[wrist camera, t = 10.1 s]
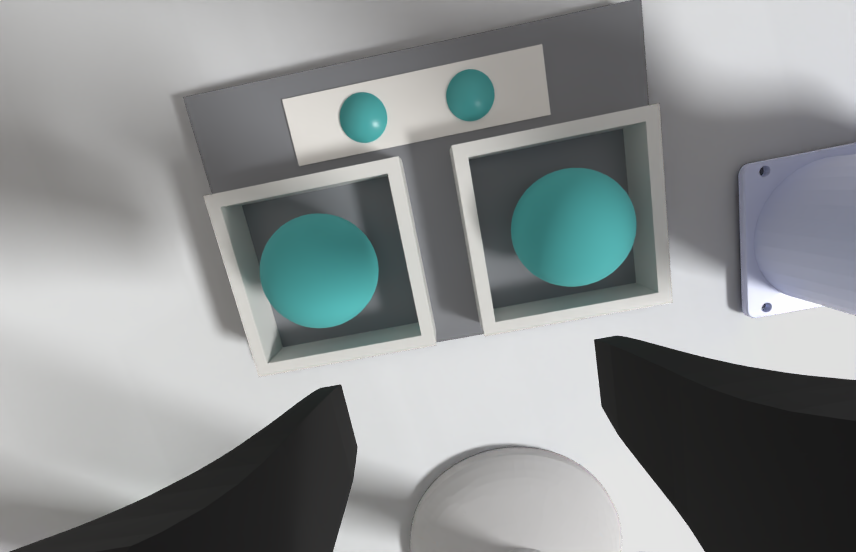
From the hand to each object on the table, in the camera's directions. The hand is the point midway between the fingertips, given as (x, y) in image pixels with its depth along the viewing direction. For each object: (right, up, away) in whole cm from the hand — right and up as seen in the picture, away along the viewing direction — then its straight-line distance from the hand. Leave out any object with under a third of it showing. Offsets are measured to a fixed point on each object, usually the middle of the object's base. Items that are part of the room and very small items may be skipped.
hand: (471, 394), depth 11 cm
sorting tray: (-1, +7, +9) cm, 12 cm away
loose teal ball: (-6, +4, +9) cm, 11 cm away
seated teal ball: (+5, +6, +8) cm, 11 cm away
